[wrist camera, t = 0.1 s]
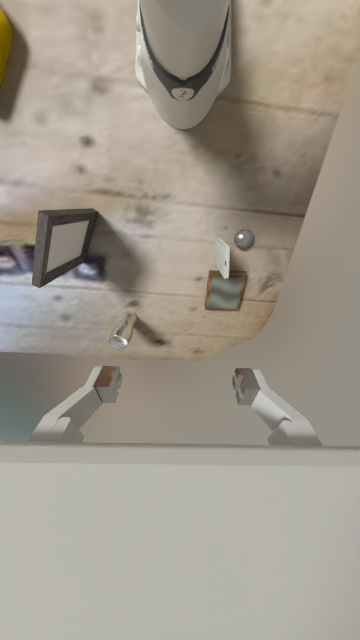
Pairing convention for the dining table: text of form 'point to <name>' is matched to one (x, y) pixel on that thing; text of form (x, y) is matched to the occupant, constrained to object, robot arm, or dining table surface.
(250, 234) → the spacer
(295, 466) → the robot arm
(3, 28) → the element tile
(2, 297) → the dining table surface
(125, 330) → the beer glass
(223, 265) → the external hard drive
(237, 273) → the mirror
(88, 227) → the picture frame
